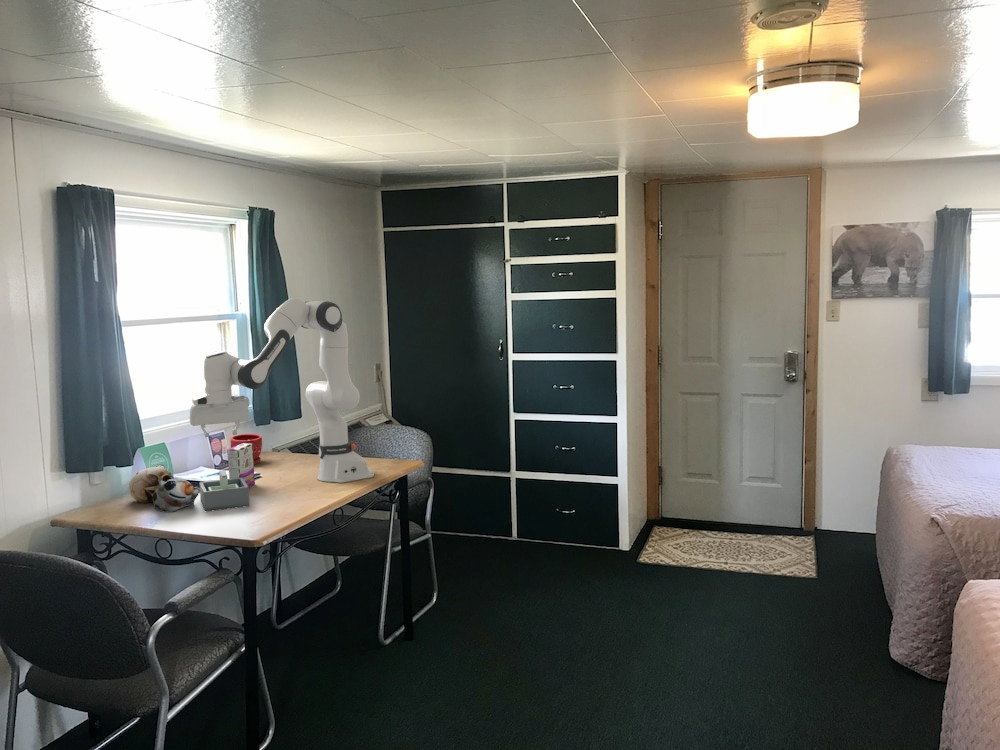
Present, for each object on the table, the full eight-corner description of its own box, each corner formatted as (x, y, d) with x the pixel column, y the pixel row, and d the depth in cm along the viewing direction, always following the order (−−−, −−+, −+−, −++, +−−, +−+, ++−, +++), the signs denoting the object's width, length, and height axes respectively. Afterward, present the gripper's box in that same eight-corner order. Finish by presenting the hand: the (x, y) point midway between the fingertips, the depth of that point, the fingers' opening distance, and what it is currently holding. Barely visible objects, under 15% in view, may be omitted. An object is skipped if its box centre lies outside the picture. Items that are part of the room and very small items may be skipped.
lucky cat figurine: (197, 500, 301) (205, 470, 295) (191, 522, 291) (199, 491, 285) (154, 492, 297) (161, 462, 291) (147, 513, 287) (154, 483, 281)
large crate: (243, 495, 307) (242, 477, 306) (249, 506, 294) (248, 486, 293) (200, 501, 301) (199, 482, 300) (205, 511, 287) (203, 492, 286)
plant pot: (225, 466, 354) (224, 439, 353) (241, 459, 367) (240, 433, 365) (253, 467, 351) (252, 440, 350) (268, 460, 364) (267, 434, 363)
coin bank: (191, 499, 303) (184, 464, 301) (143, 513, 292) (136, 477, 290) (175, 492, 315) (168, 458, 313) (128, 506, 304) (121, 471, 301)
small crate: (237, 495, 304) (235, 468, 302) (241, 502, 295) (239, 474, 293) (208, 499, 299) (207, 471, 298) (211, 506, 291) (210, 477, 289)
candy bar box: (243, 483, 325) (241, 442, 323) (255, 484, 324) (253, 443, 322) (228, 491, 314) (226, 449, 312) (241, 491, 313) (238, 449, 311)
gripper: (247, 393, 300) (249, 431, 301) (187, 398, 291) (190, 436, 293) (250, 396, 294) (252, 434, 296) (189, 400, 285) (191, 440, 287)
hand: (220, 435), depth 294 cm, fingers open, 8 cm apart
